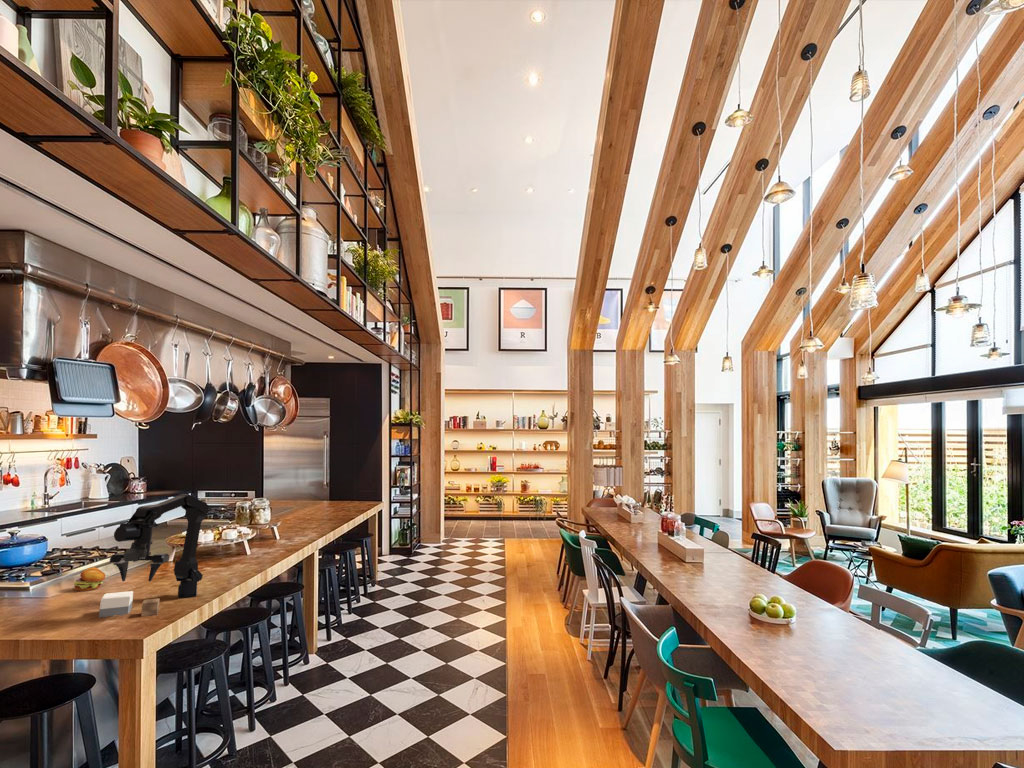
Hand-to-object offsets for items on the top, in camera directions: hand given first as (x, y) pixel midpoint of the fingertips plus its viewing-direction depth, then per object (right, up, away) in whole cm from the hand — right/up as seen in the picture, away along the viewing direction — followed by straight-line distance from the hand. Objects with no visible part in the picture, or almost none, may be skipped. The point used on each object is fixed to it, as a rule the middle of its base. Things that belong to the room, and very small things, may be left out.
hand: (136, 581), depth 210 cm
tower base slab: (-8, -13, 0) cm, 15 cm away
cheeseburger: (-43, -15, +32) cm, 56 cm away
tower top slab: (-8, -9, 0) cm, 12 cm away
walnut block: (+6, -12, -1) cm, 14 cm away
